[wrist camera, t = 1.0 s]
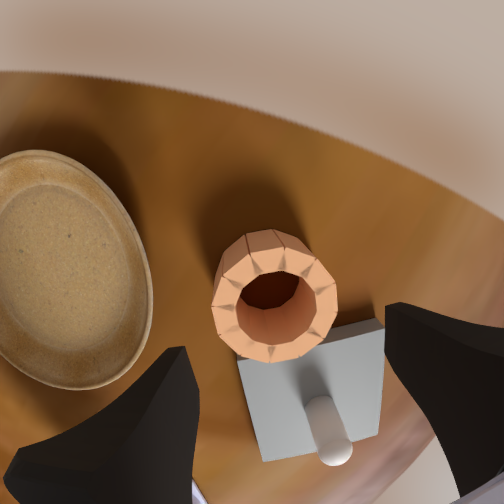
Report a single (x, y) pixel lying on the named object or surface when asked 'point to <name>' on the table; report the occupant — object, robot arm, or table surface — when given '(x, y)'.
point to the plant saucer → (69, 274)
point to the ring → (275, 319)
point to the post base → (318, 395)
